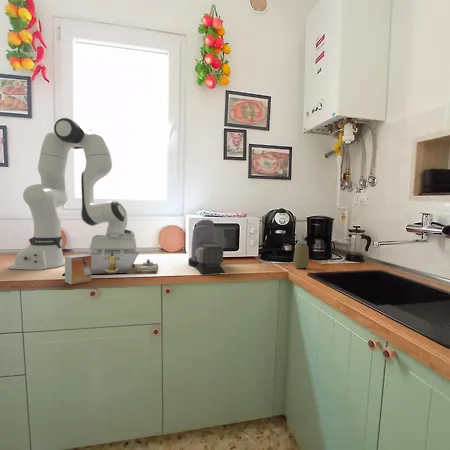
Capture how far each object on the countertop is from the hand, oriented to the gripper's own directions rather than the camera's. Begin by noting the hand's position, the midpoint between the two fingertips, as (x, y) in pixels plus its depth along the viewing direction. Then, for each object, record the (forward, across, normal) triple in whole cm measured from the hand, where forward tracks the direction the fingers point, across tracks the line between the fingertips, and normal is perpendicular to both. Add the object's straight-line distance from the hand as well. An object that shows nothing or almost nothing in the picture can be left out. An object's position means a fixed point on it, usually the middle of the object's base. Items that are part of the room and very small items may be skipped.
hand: (111, 259), depth 128 cm
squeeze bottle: (+3, +94, +6) cm, 94 cm away
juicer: (-1, +44, +10) cm, 46 cm away
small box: (+15, -10, -6) cm, 19 cm away
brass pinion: (+4, 0, +5) cm, 6 cm away
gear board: (+2, +14, +7) cm, 15 cm away
